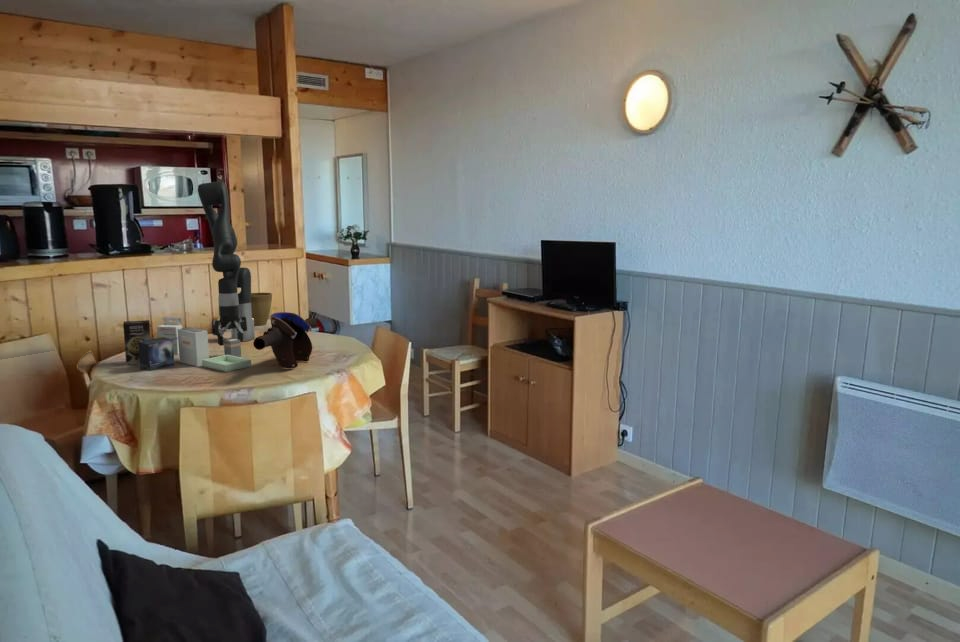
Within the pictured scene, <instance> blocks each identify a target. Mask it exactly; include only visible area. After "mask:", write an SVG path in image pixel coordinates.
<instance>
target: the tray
mask: <svg viewBox="0 0 960 642" xmlns="http://www.w3.org/2000/svg"><path fill="white" fill-rule="evenodd" d="M201 367H204V368H207V369H211V370H216V371H220V372H224V373H229V372H233V371H237V370H241V369H246V368H250V367H252V359H249V358H245V357H242V356H241V357H236V356H232V355H225V354H224V355H219V356H214V357H209V358H208V359H203V360H202V365H201Z"/></svg>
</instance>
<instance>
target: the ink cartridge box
mask: <svg viewBox="0 0 960 642" xmlns="http://www.w3.org/2000/svg"><path fill="white" fill-rule="evenodd" d="M172 320H173V321H172ZM162 321H163V324H161V325H157V326H156V329H157V331H156V332H157V333H156V334H157V338H163V337H165V338H168V339H173V348H174V356H175V355H176V356H177V355H179V343H178V330H177V329H181V328H183V324H182V318H181V317H164V316H163V318H162Z"/></svg>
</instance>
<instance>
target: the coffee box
mask: <svg viewBox="0 0 960 642" xmlns="http://www.w3.org/2000/svg"><path fill="white" fill-rule="evenodd" d="M150 323H151V322H150V320H128V321H123V322H122V325H123V327H122V328H123V339H124V350H125V351H124V352H125V354H124V355H125V364H127V365H128V364H130V365H140V360H139V344H138V342H139V341H145V340H151V326H150V325H151V324H150Z"/></svg>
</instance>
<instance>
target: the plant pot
mask: <svg viewBox="0 0 960 642" xmlns="http://www.w3.org/2000/svg"><path fill="white" fill-rule="evenodd" d="M272 299H273V293H271V292H251V311H252V318H253V319H254V327H255V326H266V325H267V324H268V321H269V317H270V313H271V308H272V301H273V300H272Z"/></svg>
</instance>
